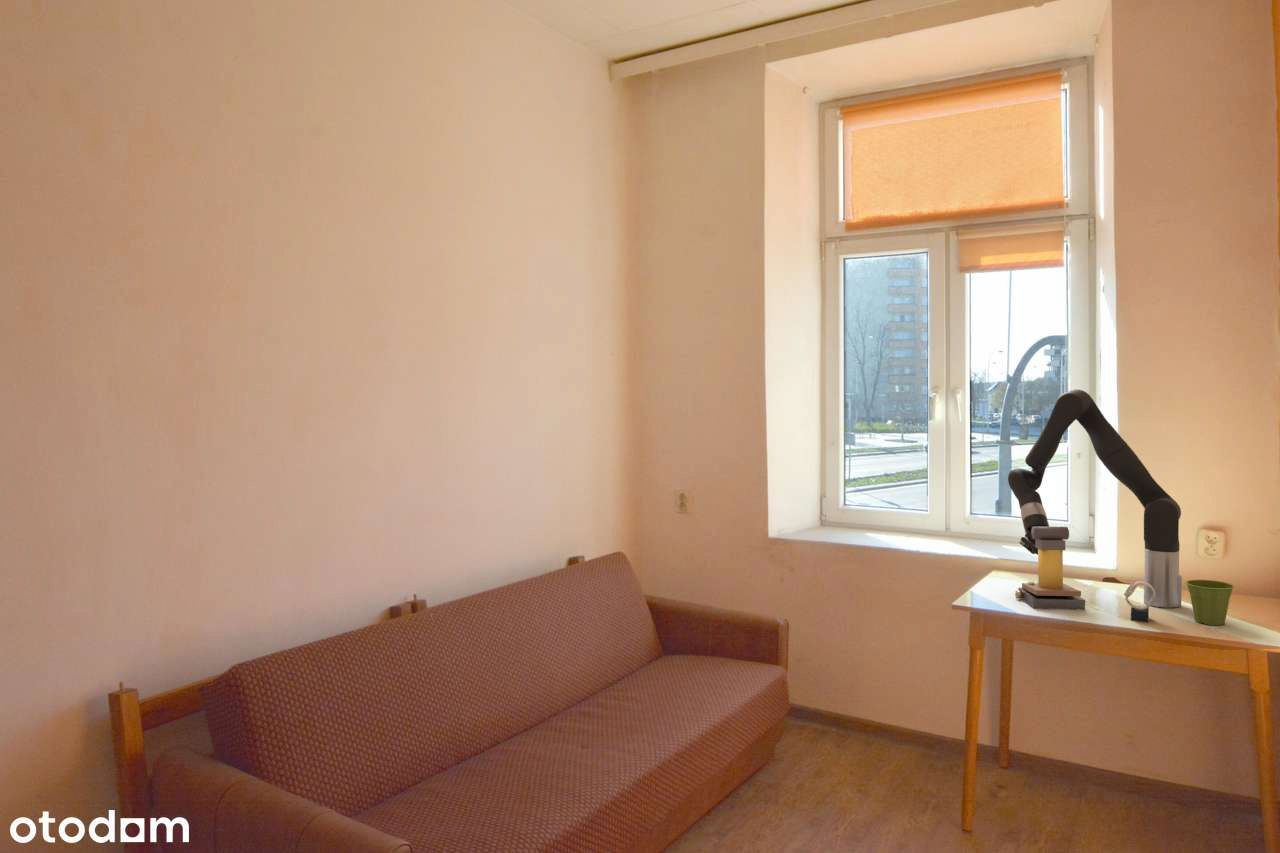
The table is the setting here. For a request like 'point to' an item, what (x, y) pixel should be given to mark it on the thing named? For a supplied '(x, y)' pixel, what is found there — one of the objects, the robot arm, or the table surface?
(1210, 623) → the plant pot
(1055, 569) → the wooden pedestal stand
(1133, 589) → the watch
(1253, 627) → the table surface
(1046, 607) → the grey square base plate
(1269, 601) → the table surface
